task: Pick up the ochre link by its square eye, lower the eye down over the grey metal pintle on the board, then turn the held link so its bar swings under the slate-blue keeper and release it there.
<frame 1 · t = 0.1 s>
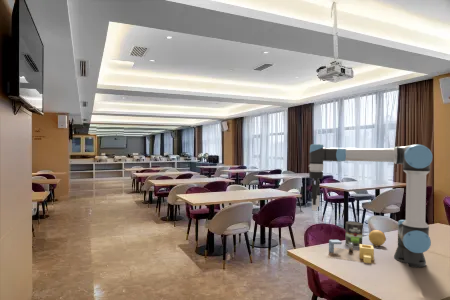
hand: (315, 208, 176), 28 cm above the table, tool pointing down, fingers open, 13 cm apart
link: (367, 262, 165), point 1 cm above the table, touching board
pintle: (350, 247, 182), on the board, point 4 cm above the table
coffee can: (353, 244, 201), on the table
stress ball: (377, 245, 200), on the table
board: (350, 257, 177), on the table
keeper: (334, 246, 182), on the board, point 5 cm above the table
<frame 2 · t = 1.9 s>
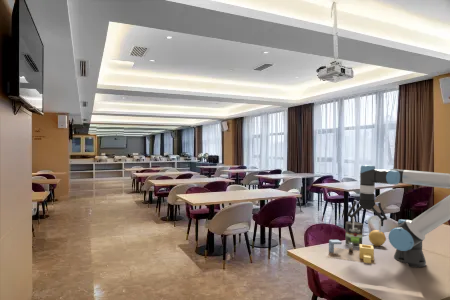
hand: (366, 230, 173), 16 cm above the table, tool pointing down, fingers open, 13 cm apart
nothing on the table moved.
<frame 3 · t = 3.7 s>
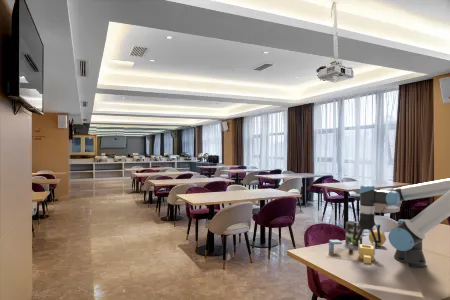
hand: (366, 253, 173), 4 cm above the table, tool pointing down, fingers closed on link, 7 cm apart
link: (367, 262, 165), point 2 cm above the table, touching board, gripper
everything else where it was.
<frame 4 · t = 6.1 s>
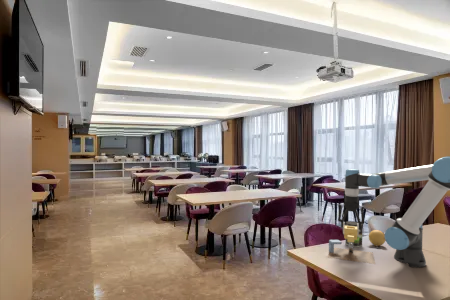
hand: (350, 234, 183), 12 cm above the table, tool pointing down, fingers closed on link, 7 cm apart
link: (350, 242, 174), point 10 cm above the table, touching gripper
everything else where it was.
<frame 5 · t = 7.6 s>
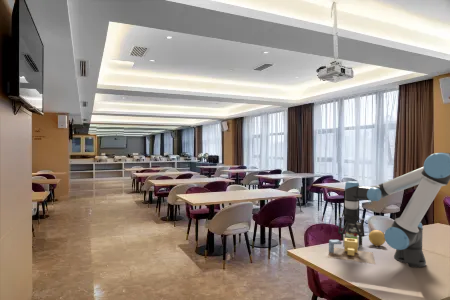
hand: (350, 246, 182), 4 cm above the table, tool pointing down, fingers closed on link, 7 cm apart
link: (350, 255, 174), point 2 cm above the table, touching gripper
everything else where it was.
when the fingers open (4 cm above the table, at t = 8.7 s): link stays where it is, resting on board.
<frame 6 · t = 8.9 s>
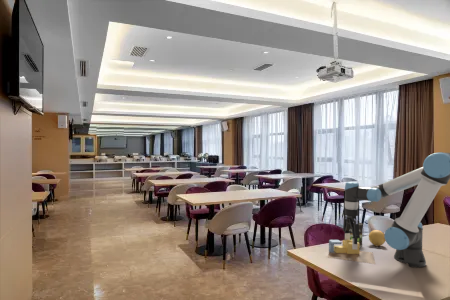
hand: (350, 246, 182), 5 cm above the table, tool pointing down, fingers open, 9 cm apart
link: (335, 251, 182), point 1 cm above the table, touching board
everything else where it was.
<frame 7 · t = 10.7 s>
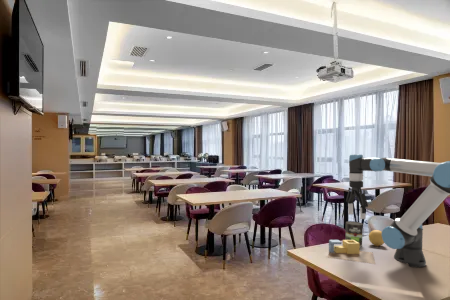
hand: (356, 216, 182), 22 cm above the table, tool pointing down, fingers open, 13 cm apart
nothing on the table moved.
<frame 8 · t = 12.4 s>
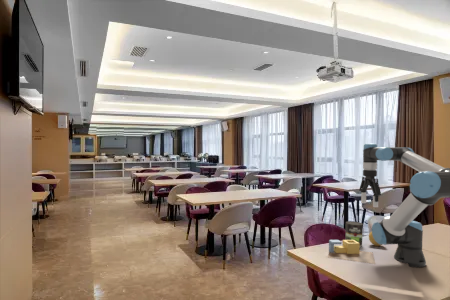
hand: (369, 205, 185), 29 cm above the table, tool pointing down, fingers open, 13 cm apart
nothing on the table moved.
at the end: link 0.4 cm from the target spot on the keeper, point 1.5 cm above the keeper's base; the gripper is holding nothing; link tilted 0° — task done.
